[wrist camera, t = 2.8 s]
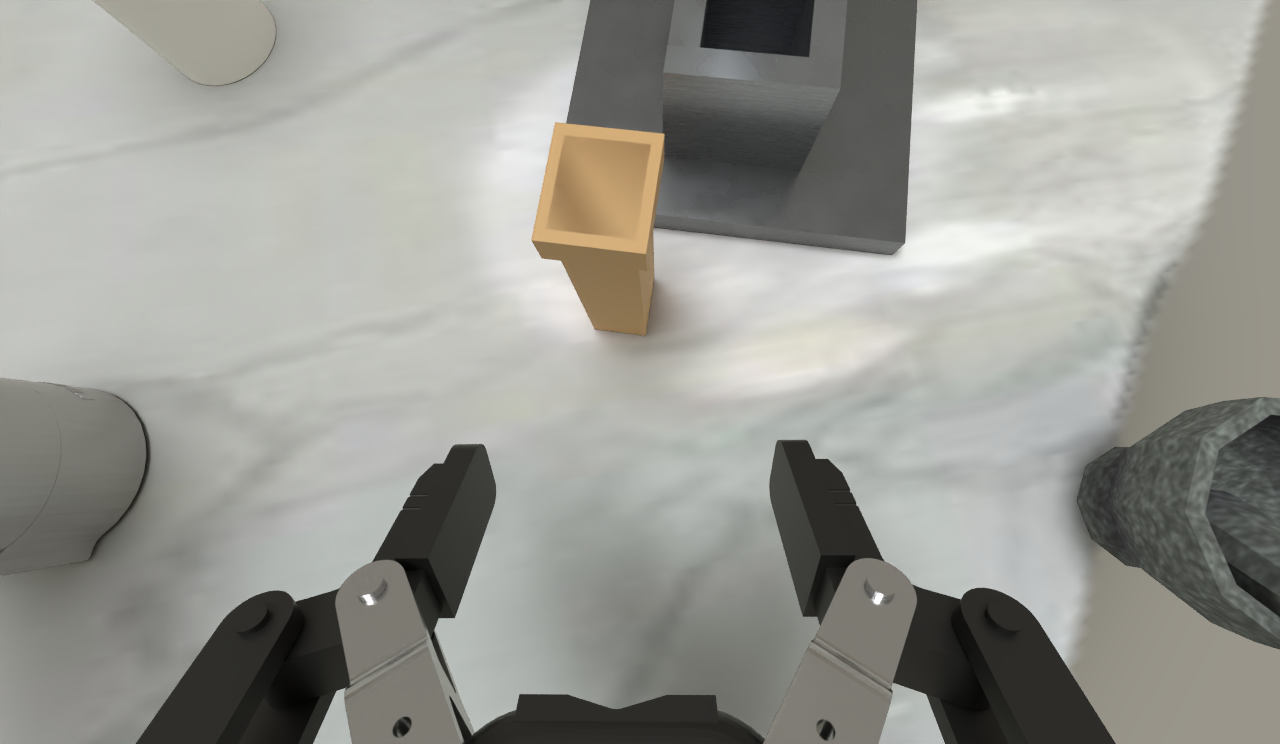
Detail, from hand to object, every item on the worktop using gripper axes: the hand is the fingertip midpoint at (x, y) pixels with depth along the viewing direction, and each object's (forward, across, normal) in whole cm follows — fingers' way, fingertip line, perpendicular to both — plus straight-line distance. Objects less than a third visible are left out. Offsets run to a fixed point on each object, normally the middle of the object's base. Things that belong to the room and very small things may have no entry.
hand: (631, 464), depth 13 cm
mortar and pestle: (+7, +25, -11) cm, 29 cm away
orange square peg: (+16, -1, -2) cm, 16 cm away
